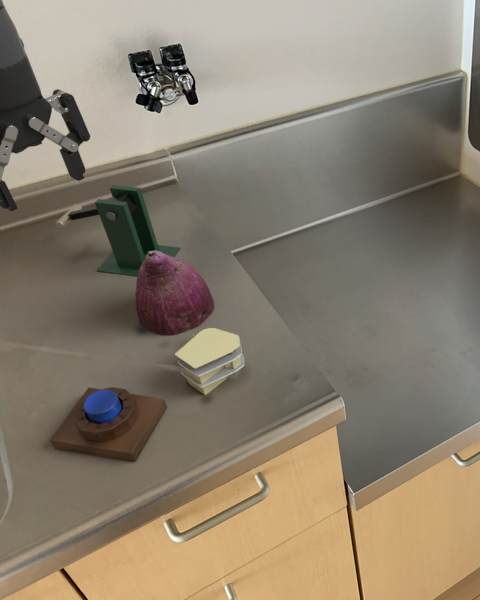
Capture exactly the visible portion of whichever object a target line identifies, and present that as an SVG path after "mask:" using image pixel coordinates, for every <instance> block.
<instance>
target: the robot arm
mask: <svg viewBox="0 0 480 600" xmlns="http://www.w3.org/2000/svg"><path fill="white" fill-rule="evenodd" d="M36 77H37V76H36V74H35V72H34V70H33V67H32V65H31V62H30V60H29V57H28V54H27V52H26V50H25V44H24V41H23V39H22V37H20V34H19V32H18V29H17V27H16V25H15V23H14V22H13V20H12V18H11V16H10V14H9V12H8V10H7V8H6V7H5V4H4V1H3V0H0V208H2V209H3V210H8V211H9V212H14V211H16V210H18V206H17V203H16V201H15V199H14V198H13V195H12V194H11V191H10V189H9V187H8V184H7V183H6V181H4V180H3V179H2V178H3V175H4V171H5V167H7V166H8V165H9V162H10V159H11V155H12V154H14V155H15V154H16V155H17V154H20V153H23V152H24V151H25V150H27V149H28V148H32V147H38V146H40V145H43V141H44V140H45V138H46V139H47V140H49V141H51V142H52V143H54V144H56V145H57V146H59V147H61V148H59V152H60V155H61V158H62V160H63V162H64V166H65V167H66V170H67V173H68V175H69V176H70V178H71V179H73V180H76V181H77V182H80V181H82V180H84V179H85V176H84V174H85V173H86V166H85V164H84V162H83V158H82V156H81V153H80V151H79V148H80V146H81V145H82V144H83V143H84V142H89V141H90V139H91V134H90V132H89V130H88V127H87V125H86V121H85V120H84V118H83V115H82V113H81V111H80V109H79V108H80V107H79V106H78V104H77V101H76V99H75V97H74V95H73V94H71V93H68V92H66V91H64V90H61V89H58V88H57V89H54V90H53V92H52V95H50V96H48V97H44V96H43V95H42V90H41V87H40V84H39V82H38V80H37V78H36ZM53 110H54V111H55V112H57V113H59V114H60V115H61V117H62V119H63V121H64V124H65V126H66V128H67V130H68V133H67V134H66V135H65V134H63V133H62V132H60V131H59V130H57V129H55V128H53V127H52V126H50V125H49V123H50V120H51V116H52V112H53Z"/></svg>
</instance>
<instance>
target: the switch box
mask: <svg viewBox="0 0 480 600" xmlns="http://www.w3.org/2000/svg"><path fill="white" fill-rule="evenodd" d="M100 390H111V391H114V392H115V393H116V394H117V396H118V399H119V401H120V403H121V411H120V413H119V415H118V416H117V417H115V418H114V419H112V420H111V421H109V422H106V423H94V422H92V421H91V420H90V419H89V417H88V415H87V413H86V411H85V409H84V403H85V401H86V399H87V398H88V397H89V396H90V395H91V394H93V393H95V392H97V391H100ZM167 409H168V406H167V403H166V400H165V398H163V397H162V398H161V397H156V396H155V397H154V396H149V395H148V396H147V395H143V394H142V395H141V394H134V393H131V392H129V391H128V390H127V389H126V388H121V387H114V386H111V387H107V388H102V389H101V388H96V387H87V389H86V390H85V392H83V394H82V395H81V397H80V398H79V400H78V401H77V403H76V404H75V405H74V407H72V409H71V410H70V412H69V413H68V415H67V416H66V418H65V419H64V420H63V422H62V423H61V424H60V426H59V427H58V428H57V430H56V431H55V432H54V434H53V435H52V437H51V438H50V442H51V444H52V446H53V448H54V449H56V450H61V451H67V452H73V453H79V454H85V455H90V456H97V457H104V458H109V459H115V460H122V461H127V462H134V463H136V462H137V461H138V459H139V457H140V455H141V453H142V452H143V450H144V448H145V446H146V445H147V443H148V441H149V439H150V438H151V436H152V435H153V433H154V431H155V430H156V428H157V427H158V424H159V423H160V421H161V419H162V418H163V416H164V414H165V412H166V411H167Z"/></svg>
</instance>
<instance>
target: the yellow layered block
mask: <svg viewBox="0 0 480 600" xmlns="http://www.w3.org/2000/svg"><path fill="white" fill-rule="evenodd" d="M242 352H243V351H242V343H241V341H240V335H238V334H235V333H232V332H229V331H226V330H222V329H219V328H215V327H209V328H205V329H202V330H201V331H199V332H198V333H197V334H196V335H195V336H194V337H192V338H191V339H190V340H189V341H188V342H187V343H185V344H184V345H183V346H182V347H181V348H180V349H179V350H178V351H176V352H175V353H174V355H175V356H176V357H178V358H179V359H178V360H177V361H176V362H177V364H178V365H179V366H181V367H183V370H182V371H181V372H180V374H181V375H182V376H183V377H184V378H185V379H186V380H187V384H189V385H190V386H192V388H194V389H195V390H197V391H198V392H200V393H201V394H202V395H204V396H206V395H207V394H209V393H211V392H212V391H213V390H214V389H216V387H218V386H219V385H220V384H222V383H223V382H224V381H225V380H227V379H228V376H230V375H233V374H235V373H237V372H238V371H240V370H241V369H242V368H243V367H244V366H245V356H244V353H242Z"/></svg>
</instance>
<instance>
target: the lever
mask: <svg viewBox="0 0 480 600" xmlns="http://www.w3.org/2000/svg"><path fill="white" fill-rule="evenodd" d="M109 200H112V201H122V202H127V204H128V208H129V211H130V214H131V213H132V212H133V211H134V210H135V208H136V207H137V206H136V204H135V203H134V201H133V200H132V198H131V197H130V195H129V194H128V193H127V194H122V195H118V196H113V197H111V198H110V199H109ZM96 216H100V215H99V212H98V210H97V207H96V205H95V206H92V207H86V208H83V207H82V206H81V204H77V203H76V204H74V205H73V206H72V207H71V208H69V209H68V211H66V213H64V214H63V215H62V216H61V217H59V219H58V220H57V221H56V222H55V226H56V228H58V229H60V230H63V229H64V230H65V228H66V227H67V226H69V224H71V222H72V221H75V220H81V219H85V218H86V219H87V218H90V217H96Z"/></svg>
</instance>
